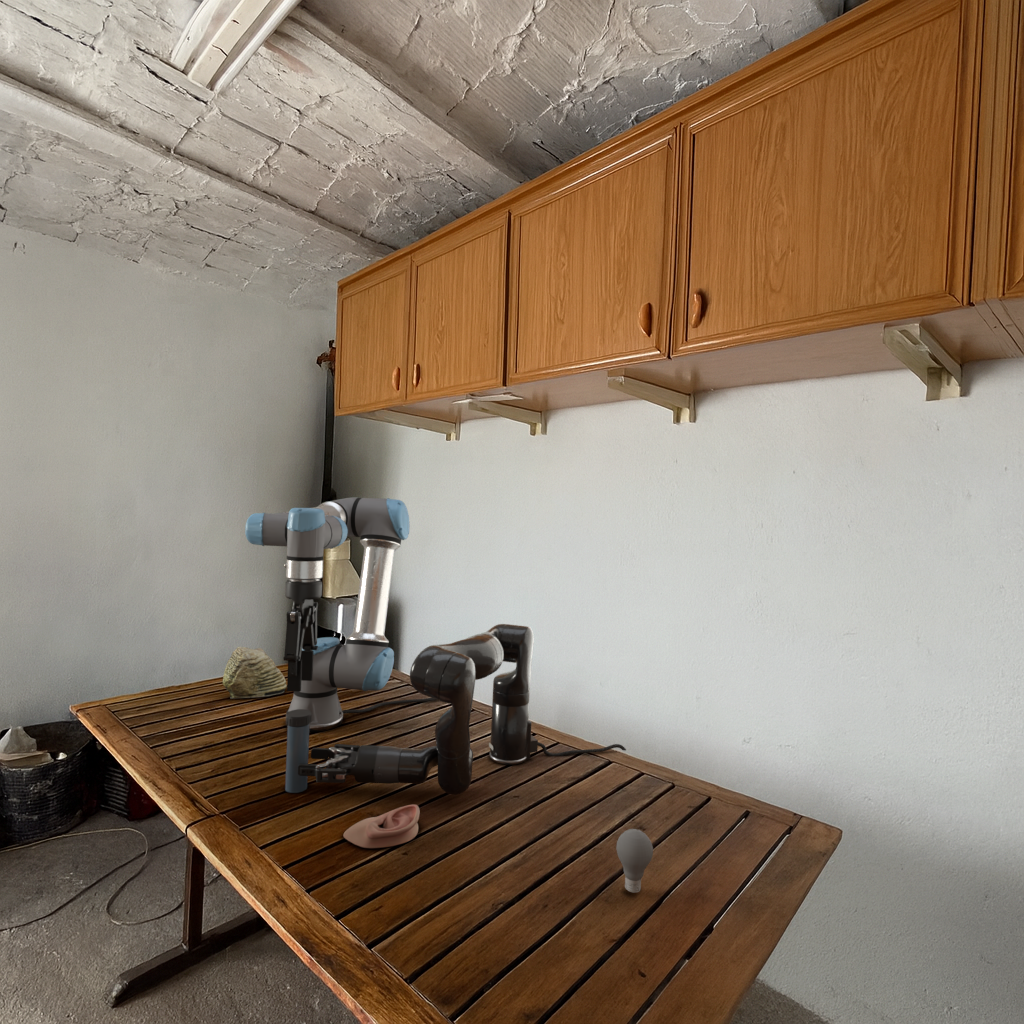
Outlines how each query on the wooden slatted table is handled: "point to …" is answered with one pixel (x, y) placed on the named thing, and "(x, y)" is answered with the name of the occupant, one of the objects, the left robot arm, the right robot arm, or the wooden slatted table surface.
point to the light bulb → (634, 857)
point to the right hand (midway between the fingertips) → (305, 761)
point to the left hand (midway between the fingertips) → (300, 685)
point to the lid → (298, 718)
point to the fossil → (252, 674)
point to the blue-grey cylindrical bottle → (296, 758)
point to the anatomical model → (385, 828)
